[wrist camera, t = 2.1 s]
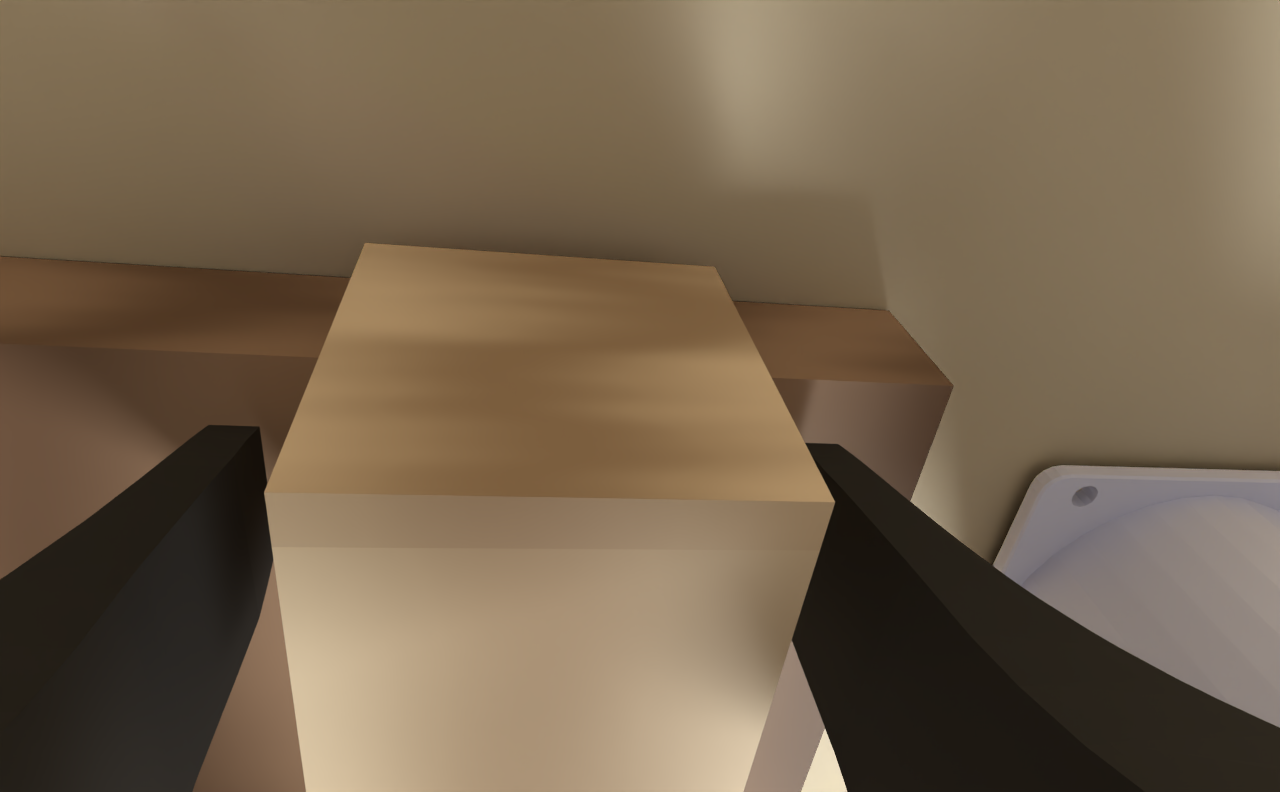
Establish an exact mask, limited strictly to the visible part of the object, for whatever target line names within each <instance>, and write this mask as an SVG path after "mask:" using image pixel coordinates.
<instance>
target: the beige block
mask: <svg viewBox="0 0 1280 792" xmlns="http://www.w3.org/2000/svg"><path fill="white" fill-rule="evenodd" d="M264 495H265V502H266V509H267V516H268V524H269V531H270V538H271V545H272V552H273V559H274V566H275V574H276V581H277V588H278V595H279V602H280V609H281V616H282V624H283V631H284V638H285V645H286V652H287V659H288V666H289V673H290V681H291V688H292V695H293V702H294V709H295V716H296V723H297V731H298V738H299V745H300V752H301V759H302V766H303V773H304V781H305V788H306V792H744V788H745V785H746V782H747V779H748V776H749V773H750V770H751V766H752V763H753V760H754V757H755V754H756V751H757V747H758V744H759V741H760V738H761V735H762V732H763V728H764V725H765V722H766V719H767V716H768V713H769V710H770V706H771V703H772V700H773V697H774V694H775V691H776V687H777V684H778V681H779V678H780V675H781V672H782V668H783V665H784V662H785V659H786V656H787V653H788V650H789V646H790V643H791V640H792V637H793V634H794V631H795V627H796V624H797V621H798V618H799V615H800V612H801V609H802V605H803V602H804V599H805V596H806V593H807V590H808V586H809V583H810V580H811V577H812V574H813V571H814V567H815V564H816V561H817V558H818V555H819V552H820V549H821V545H822V542H823V539H824V536H825V533H826V530H827V526H828V523H829V520H830V517H831V514H832V511H833V507H834V504H835V501H834V499H833V497H832V495H831V493H830V491H829V489H828V487H827V485H826V483H825V481H824V479H823V477H822V475H821V473H820V472H819V470H818V468H817V466H816V464H815V462H814V460H813V458H812V456H811V454H810V452H809V450H808V448H807V446H806V444H805V442H804V440H803V438H802V436H801V434H800V432H799V430H798V429H797V427H796V425H795V423H794V421H793V419H792V417H791V415H790V413H789V411H788V409H787V407H786V405H785V403H784V401H783V399H782V397H781V395H780V393H779V391H778V389H777V387H776V386H775V384H774V382H773V380H772V378H771V376H770V374H769V372H768V370H767V368H766V366H765V364H764V362H763V360H762V358H761V356H760V354H759V352H758V350H757V348H756V346H755V344H754V343H753V341H752V339H751V337H750V335H749V333H748V331H747V329H746V327H745V325H744V323H743V321H742V319H741V317H740V315H739V313H738V311H737V309H736V307H735V305H734V303H733V301H732V300H731V298H730V296H729V294H728V292H727V290H726V288H725V286H724V284H723V282H722V280H721V278H720V276H719V274H718V272H717V270H716V268H715V267H712V266H697V265H683V264H668V263H653V262H639V261H624V260H609V259H595V258H580V257H566V256H551V255H536V254H522V253H507V252H492V251H478V250H463V249H448V248H434V247H419V246H404V245H390V244H375V243H365V244H364V246H363V249H362V251H361V254H360V256H359V259H358V261H357V264H356V266H355V269H354V271H353V274H352V276H351V279H350V281H349V284H348V286H347V289H346V291H345V293H344V296H343V298H342V301H341V303H340V306H339V308H338V311H337V313H336V316H335V318H334V321H333V323H332V326H331V328H330V331H329V333H328V336H327V338H326V340H325V343H324V345H323V348H322V350H321V353H320V355H319V358H318V360H317V363H316V365H315V368H314V370H313V373H312V375H311V378H310V380H309V383H308V385H307V388H306V390H305V392H304V395H303V397H302V400H301V402H300V405H299V407H298V410H297V412H296V415H295V417H294V420H293V422H292V425H291V427H290V430H289V432H288V435H287V437H286V439H285V442H284V444H283V447H282V449H281V452H280V454H279V457H278V459H277V462H276V464H275V467H274V469H273V472H272V474H271V477H270V479H269V482H268V484H267V487H266V489H265V491H264Z"/></svg>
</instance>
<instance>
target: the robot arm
mask: <svg viewBox="0 0 1280 792" xmlns="http://www.w3.org/2000/svg"><path fill="white" fill-rule="evenodd" d="M805 444H806V446H807V448H808V450H809V452H810V454H811V456H812V458H813V460H814V462H815V464H816V466H817V468H818V470H819V472H820V473H821V475H822V477H823V479H824V481H825V483H826V485H827V487H828V489H829V491H830V493H831V495H832V497H833V499H834V501H835V504H834V507H833V511H832V514H831V517H830V520H829V523H828V526H827V530H826V533H825V536H824V539H823V542H822V545H821V549H820V552H819V555H818V558H817V561H816V564H815V567H814V571H813V574H812V577H811V580H810V583H809V586H808V590H807V593H806V596H805V599H804V602H803V605H802V609H801V612H800V615H799V618H798V621H797V624H796V627H795V631H794V634H793V637H792V642H793V645H794V647H795V650H796V653H797V656H798V658H799V661H800V664H801V666H802V669H803V671H804V674H805V677H806V679H807V682H808V684H809V687H810V690H811V692H812V695H813V697H814V700H815V703H816V705H817V708H818V711H819V713H820V716H821V718H822V721H823V724H824V726H825V729H826V731H827V734H828V737H829V739H830V742H831V745H832V747H833V750H834V752H835V755H836V758H837V761H838V764H839V767H840V770H841V773H842V776H843V779H844V782H845V785H846V788H847V792H1280V471H1261V470H1223V469H1186V468H1149V467H1112V466H1075V465H1060V466H1053V467H1050V468H1048V469H1046V470H1043V471H1042V472H1041V473H1040V474H1038V475H1037V476H1036V477H1035V479H1034V480H1033V481H1032V483H1031V484H1030V486H1029V489H1028V491H1027V493H1026V495H1025V497H1024V499H1023V501H1022V504H1021V506H1020V508H1019V510H1018V512H1017V514H1016V516H1015V519H1014V521H1013V523H1012V525H1011V527H1010V529H1009V531H1008V534H1007V536H1006V538H1005V540H1004V542H1003V544H1002V546H1001V549H1000V551H999V553H998V555H997V557H996V559H995V561H994V564H993V566H992V565H991V564H989V563H988V562H987V561H985V560H984V559H983V558H981V557H980V556H978V555H977V554H976V553H974V552H973V551H972V550H970V549H969V548H968V547H967V546H965V545H964V544H963V543H961V542H960V541H959V540H957V539H956V538H955V537H954V536H952V535H951V534H950V533H949V532H947V531H946V530H945V529H943V528H942V527H941V526H940V525H938V524H937V523H936V522H935V521H933V520H932V519H931V518H930V517H928V516H927V515H926V514H925V513H924V512H922V511H921V510H920V509H919V508H917V507H916V506H915V505H914V504H913V503H911V502H910V501H909V500H908V499H906V498H905V497H904V496H903V495H902V494H900V493H899V492H898V491H897V490H896V489H894V488H893V487H892V486H891V485H890V484H888V483H887V482H886V481H885V480H884V479H882V478H881V477H880V476H879V475H878V474H876V473H875V472H874V471H873V470H871V469H870V468H869V467H868V466H866V465H865V464H864V463H863V462H862V461H860V460H859V459H858V458H856V457H855V456H854V455H853V454H851V453H850V452H849V451H847V450H846V449H844V448H843V447H842V446H840V445H839V444H826V443H805ZM266 487H267V477H266V469H265V462H264V455H263V447H262V440H261V433H260V426H231V425H208V426H206V427H205V428H203V429H202V430H201V431H199V432H198V433H197V434H195V435H194V436H193V437H191V438H190V439H189V440H188V441H186V442H185V443H184V444H183V445H181V446H180V447H179V448H178V449H176V450H175V451H174V452H173V453H171V454H170V455H169V456H167V457H166V458H165V459H164V460H162V461H161V462H160V463H159V464H157V465H156V466H155V467H154V468H152V469H151V470H150V471H149V472H147V473H146V474H145V475H144V476H142V477H141V478H140V479H139V480H137V481H136V482H135V483H133V484H132V485H131V486H129V487H128V488H127V489H125V490H124V491H123V492H122V493H120V494H119V495H118V496H116V497H115V498H114V499H112V500H111V501H110V502H109V503H107V504H106V505H105V506H103V507H102V508H101V509H99V510H98V511H97V512H95V513H94V514H93V515H92V516H90V517H89V518H88V519H86V520H85V521H84V522H82V523H81V524H79V525H78V526H76V527H75V528H73V529H72V530H71V531H69V532H68V533H66V534H65V535H63V536H62V537H61V538H59V539H58V540H56V541H55V542H53V543H52V544H51V545H49V546H48V547H46V548H45V549H43V550H42V551H41V552H39V553H38V554H36V555H35V556H33V557H32V558H30V559H29V560H28V561H26V562H25V563H23V564H22V565H20V566H19V567H18V568H16V569H15V570H13V571H12V572H10V573H9V574H8V575H6V576H4V577H3V578H1V579H0V792H193V789H194V786H195V783H196V780H197V777H198V775H199V772H200V770H201V767H202V764H203V762H204V759H205V757H206V754H207V752H208V749H209V747H210V744H211V742H212V739H213V736H214V734H215V731H216V729H217V726H218V724H219V721H220V719H221V716H222V713H223V711H224V708H225V706H226V703H227V701H228V698H229V696H230V693H231V691H232V688H233V685H234V683H235V680H236V678H237V675H238V673H239V670H240V667H241V665H242V662H243V660H244V657H245V654H246V652H247V649H248V647H249V644H250V641H251V639H252V636H253V634H254V631H255V628H256V626H257V623H258V620H259V617H260V614H261V610H262V606H263V602H264V598H265V594H266V590H267V586H268V582H269V577H270V573H271V568H272V564H273V560H274V559H273V552H272V545H271V538H270V531H269V524H268V516H267V509H266V502H265V495H264V491H265V489H266ZM1081 488H1082V489H1081ZM1079 489H1081V490H1079ZM1078 490H1079V491H1078ZM1077 491H1078V492H1077Z"/></svg>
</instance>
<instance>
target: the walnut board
mask: <svg viewBox="0 0 1280 792" xmlns="http://www.w3.org/2000/svg"><path fill="white" fill-rule="evenodd" d="M350 279H351V278H344V277H328V276H312V275H295V274H279V273H262V272H246V271H230V270H213V269H197V268H180V267H164V266H147V265H131V264H115V263H98V262H82V261H65V260H49V259H33V258H16V257H0V579H1V578H3V577H4V576H6V575H8V574H9V573H10V572H12V571H13V570H15V569H16V568H18V567H19V566H20V565H22V564H23V563H25V562H26V561H28V560H29V559H30V558H32V557H33V556H35V555H36V554H38V553H39V552H41V551H42V550H43V549H45V548H46V547H48V546H49V545H51V544H52V543H53V542H55V541H56V540H58V539H59V538H61V537H62V536H63V535H65V534H66V533H68V532H69V531H71V530H72V529H73V528H75V527H76V526H78V525H79V524H81V523H82V522H84V521H85V520H86V519H88V518H89V517H90V516H92V515H93V514H94V513H95V512H97V511H98V510H99V509H101V508H102V507H103V506H105V505H106V504H107V503H109V502H110V501H111V500H112V499H114V498H115V497H116V496H118V495H119V494H120V493H122V492H123V491H124V490H125V489H127V488H128V487H129V486H131V485H132V484H133V483H135V482H136V481H137V480H139V479H140V478H141V477H142V476H144V475H145V474H146V473H147V472H149V471H150V470H151V469H152V468H154V467H155V466H156V465H157V464H159V463H160V462H161V461H162V460H164V459H165V458H166V457H167V456H169V455H170V454H171V453H173V452H174V451H175V450H176V449H178V448H179V447H180V446H181V445H183V444H184V443H185V442H186V441H188V440H189V439H190V438H191V437H193V436H194V435H195V434H197V433H198V432H199V431H201V430H202V429H203V428H205V427H206V426H208V425H231V426H260V433H261V440H262V447H263V455H264V462H265V469H266V477H267V484H268V482H269V479H270V477H271V474H272V472H273V469H274V467H275V464H276V462H277V459H278V457H279V454H280V452H281V449H282V447H283V444H284V442H285V439H286V437H287V435H288V432H289V430H290V427H291V425H292V422H293V420H294V417H295V415H296V412H297V410H298V407H299V405H300V402H301V400H302V397H303V395H304V392H305V390H306V388H307V385H308V383H309V380H310V378H311V375H312V373H313V370H314V368H315V365H316V363H317V360H318V358H319V355H320V353H321V350H322V348H323V345H324V343H325V340H326V338H327V336H328V333H329V331H330V328H331V326H332V323H333V321H334V318H335V316H336V313H337V311H338V308H339V306H340V303H341V301H342V298H343V296H344V293H345V291H346V289H347V286H348V284H349V281H350ZM733 303H734V305H735V307H736V309H737V311H738V313H739V315H740V317H741V319H742V321H743V323H744V325H745V327H746V329H747V331H748V333H749V335H750V337H751V339H752V341H753V343H754V344H755V346H756V348H757V350H758V352H759V354H760V356H761V358H762V360H763V362H764V364H765V366H766V368H767V370H768V372H769V374H770V376H771V378H772V380H773V382H774V384H775V386H776V387H777V389H778V391H779V393H780V395H781V397H782V399H783V401H784V403H785V405H786V407H787V409H788V411H789V413H790V415H791V417H792V419H793V421H794V423H795V425H796V427H797V429H798V430H799V432H800V434H801V436H802V438H803V440H804V442H805V443H826V444H839V445H840V446H842V447H843V448H844V449H846V450H847V451H849V452H850V453H851V454H853V455H854V456H855V457H856V458H858V459H859V460H860V461H862V462H863V463H864V464H865V465H866V466H868V467H869V468H870V469H871V470H873V471H874V472H875V473H876V474H878V475H879V476H880V477H881V478H882V479H884V480H885V481H886V482H887V483H888V484H890V485H891V486H892V487H893V488H894V489H896V490H897V491H898V492H899V493H900V494H902V495H903V496H904V497H905V498H906V499H908V500H909V501H910V500H911V498H912V495H913V492H914V490H915V487H916V484H917V482H918V479H919V477H920V474H921V471H922V469H923V466H924V463H925V461H926V458H927V455H928V453H929V450H930V447H931V445H932V442H933V439H934V437H935V434H936V431H937V429H938V426H939V423H940V421H941V418H942V415H943V413H944V410H945V407H946V405H947V402H948V400H949V397H950V394H951V392H952V389H953V385H952V383H951V382H950V381H949V380H948V379H947V378H946V376H945V375H944V374H943V373H942V372H941V371H940V369H939V368H938V367H937V366H936V365H935V364H934V362H933V361H932V360H931V359H930V358H929V357H928V355H927V354H926V353H925V352H924V351H923V350H922V348H921V347H920V346H919V345H918V344H917V343H916V342H915V340H914V339H913V338H912V337H911V336H910V335H909V333H908V332H907V331H906V330H905V329H904V328H903V326H902V325H901V324H900V323H899V322H898V321H897V319H896V318H895V317H894V316H893V315H892V314H891V312H890V311H886V310H869V309H853V308H837V307H820V306H804V305H787V304H771V303H755V302H738V301H733ZM824 729H825V726H824V724H823V721H822V718H821V716H820V713H819V711H818V708H817V705H816V703H815V700H814V697H813V695H812V692H811V690H810V687H809V684H808V682H807V679H806V677H805V674H804V671H803V669H802V666H801V664H800V661H799V658H798V656H797V653H796V650H795V647H794V645H793V642H792V640H791V643H790V646H789V650H788V653H787V656H786V659H785V662H784V665H783V668H782V672H781V675H780V678H779V681H778V684H777V687H776V691H775V694H774V697H773V700H772V703H771V706H770V710H769V713H768V716H767V719H766V722H765V725H764V728H763V732H762V735H761V738H760V741H759V744H758V747H757V751H756V754H755V757H754V760H753V763H752V766H751V770H750V773H749V776H748V779H747V782H746V785H745V788H744V792H801V790H802V787H803V785H804V782H805V779H806V777H807V774H808V771H809V769H810V766H811V763H812V761H813V758H814V755H815V753H816V750H817V747H818V745H819V742H820V739H821V737H822V734H823V731H824ZM193 792H306V788H305V781H304V773H303V766H302V759H301V752H300V745H299V738H298V731H297V723H296V716H295V709H294V702H293V695H292V688H291V681H290V673H289V666H288V659H287V652H286V645H285V638H284V631H283V624H282V616H281V609H280V602H279V595H278V588H277V581H276V574H275V566H274V560H273V564H272V568H271V573H270V577H269V582H268V586H267V590H266V594H265V598H264V602H263V606H262V610H261V614H260V617H259V620H258V623H257V626H256V628H255V631H254V634H253V636H252V639H251V641H250V644H249V647H248V649H247V652H246V654H245V657H244V660H243V662H242V665H241V667H240V670H239V673H238V675H237V678H236V680H235V683H234V685H233V688H232V691H231V693H230V696H229V698H228V701H227V703H226V706H225V708H224V711H223V713H222V716H221V719H220V721H219V724H218V726H217V729H216V731H215V734H214V736H213V739H212V742H211V744H210V747H209V749H208V752H207V754H206V757H205V759H204V762H203V764H202V767H201V770H200V772H199V775H198V777H197V780H196V783H195V786H194V789H193Z"/></svg>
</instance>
